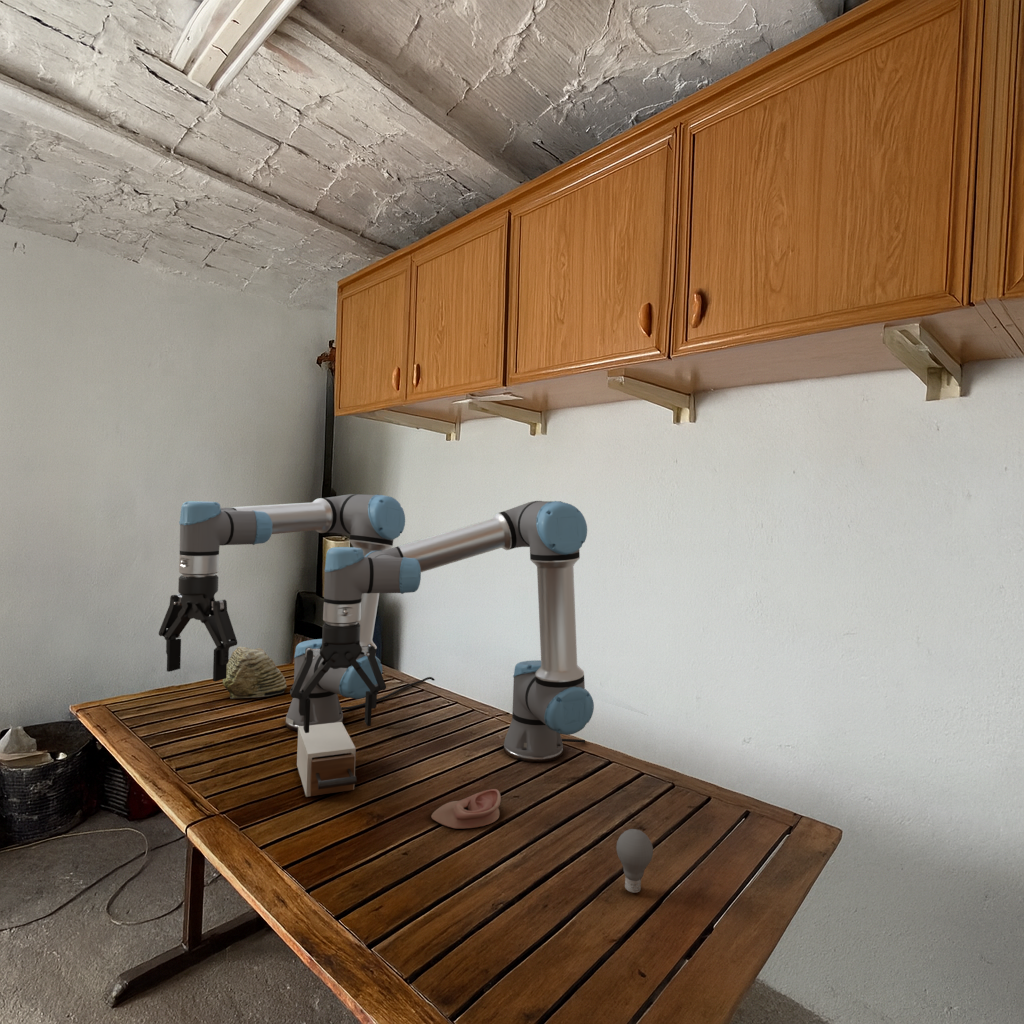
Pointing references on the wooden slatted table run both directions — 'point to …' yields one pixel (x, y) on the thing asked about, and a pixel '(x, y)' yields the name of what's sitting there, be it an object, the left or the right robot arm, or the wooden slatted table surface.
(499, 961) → the wooden slatted table surface
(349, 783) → the drawer
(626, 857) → the light bulb
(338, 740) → the cabinet
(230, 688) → the fossil
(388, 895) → the wooden slatted table surface
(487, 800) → the anatomical model
